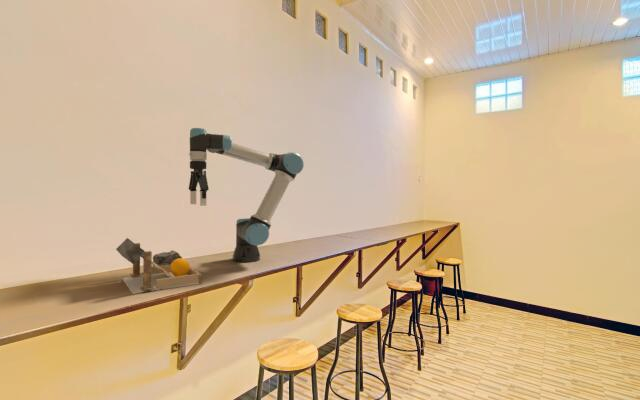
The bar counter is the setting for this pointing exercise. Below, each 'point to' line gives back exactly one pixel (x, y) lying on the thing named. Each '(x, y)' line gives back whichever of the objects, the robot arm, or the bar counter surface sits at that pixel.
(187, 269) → the orange
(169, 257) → the rock
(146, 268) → the gallows posts
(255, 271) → the bar counter surface
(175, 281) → the tray
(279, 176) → the robot arm
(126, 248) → the trapdoor
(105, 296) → the bar counter surface
